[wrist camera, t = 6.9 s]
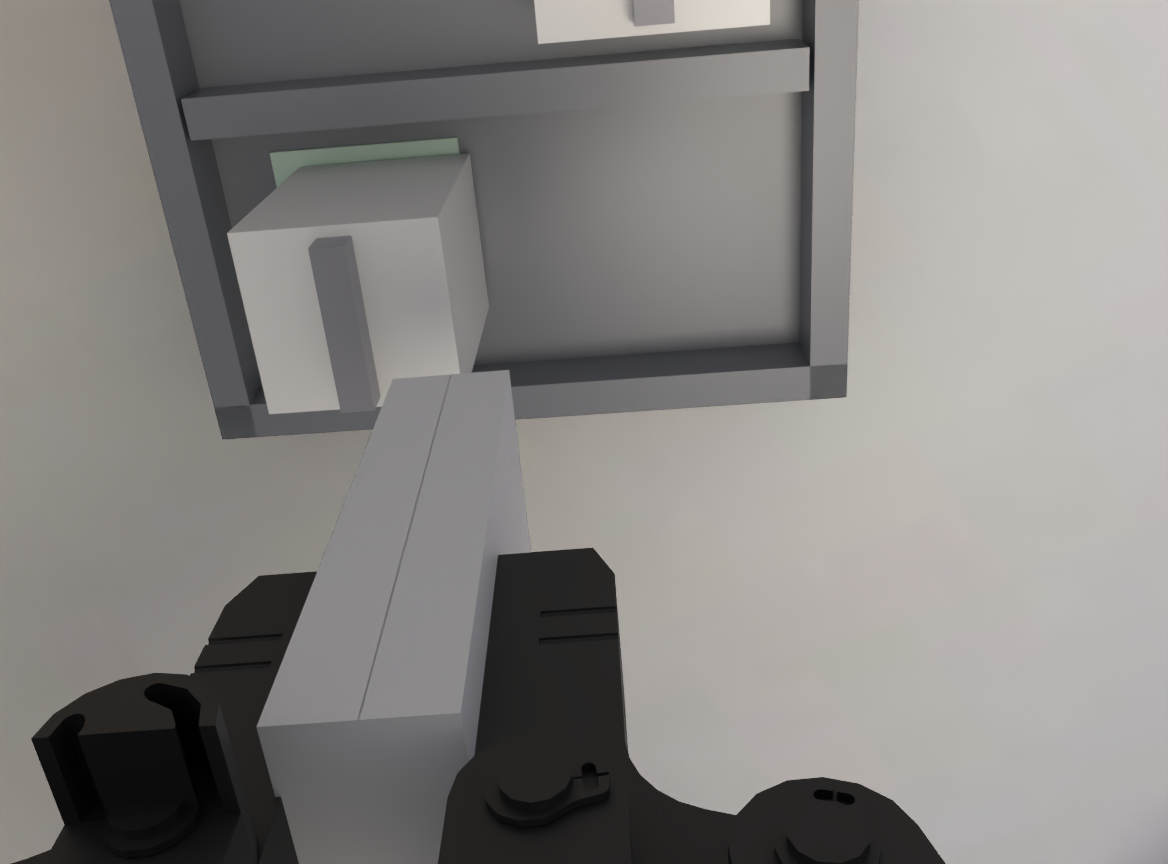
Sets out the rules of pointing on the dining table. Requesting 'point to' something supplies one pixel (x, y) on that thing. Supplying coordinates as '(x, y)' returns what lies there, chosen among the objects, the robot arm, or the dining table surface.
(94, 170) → the dining table surface
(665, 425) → the dining table surface
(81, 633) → the dining table surface
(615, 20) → the tab mid
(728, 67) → the switch bank
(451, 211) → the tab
